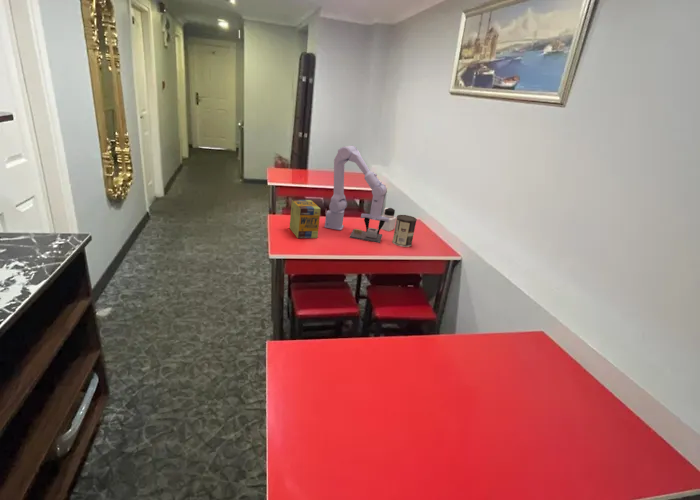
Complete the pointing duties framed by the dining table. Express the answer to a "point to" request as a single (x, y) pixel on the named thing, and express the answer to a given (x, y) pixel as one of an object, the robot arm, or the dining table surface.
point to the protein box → (304, 218)
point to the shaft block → (364, 236)
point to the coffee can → (404, 230)
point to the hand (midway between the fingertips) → (372, 232)
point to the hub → (372, 233)
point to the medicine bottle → (389, 214)
